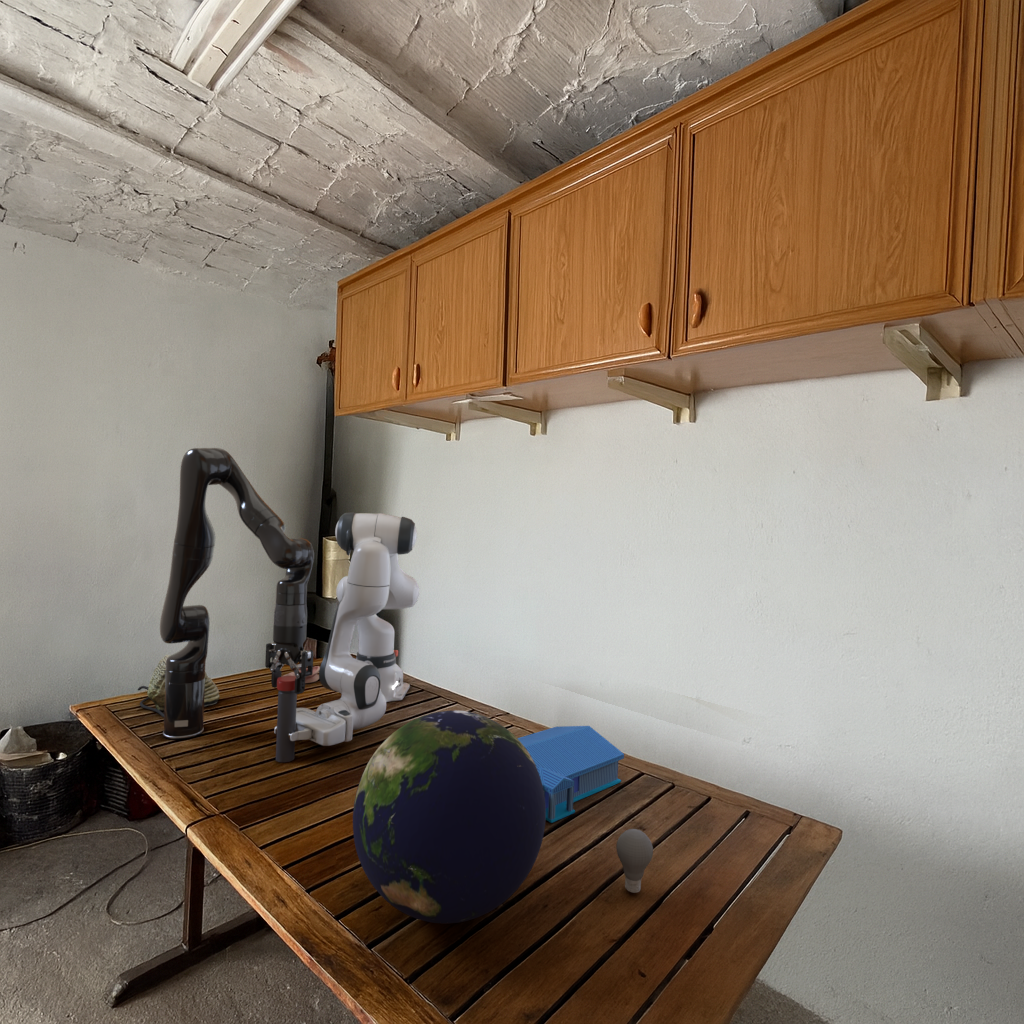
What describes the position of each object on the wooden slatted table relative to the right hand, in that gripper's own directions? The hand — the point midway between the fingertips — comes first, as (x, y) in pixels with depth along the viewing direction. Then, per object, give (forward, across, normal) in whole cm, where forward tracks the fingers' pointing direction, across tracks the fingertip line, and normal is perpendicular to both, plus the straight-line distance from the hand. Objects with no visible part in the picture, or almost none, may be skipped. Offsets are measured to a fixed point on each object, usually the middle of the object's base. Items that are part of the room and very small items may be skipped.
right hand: (282, 734), depth 151 cm
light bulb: (-9, +87, +6) cm, 88 cm away
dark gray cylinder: (-1, 0, +6) cm, 6 cm away
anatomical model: (-40, -53, +6) cm, 67 cm away
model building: (-28, +54, +6) cm, 61 cm away
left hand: (-1, 0, -10) cm, 11 cm away
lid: (-1, 0, -13) cm, 13 cm away
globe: (+14, +67, +6) cm, 68 cm away
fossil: (-2, -53, +6) cm, 54 cm away
